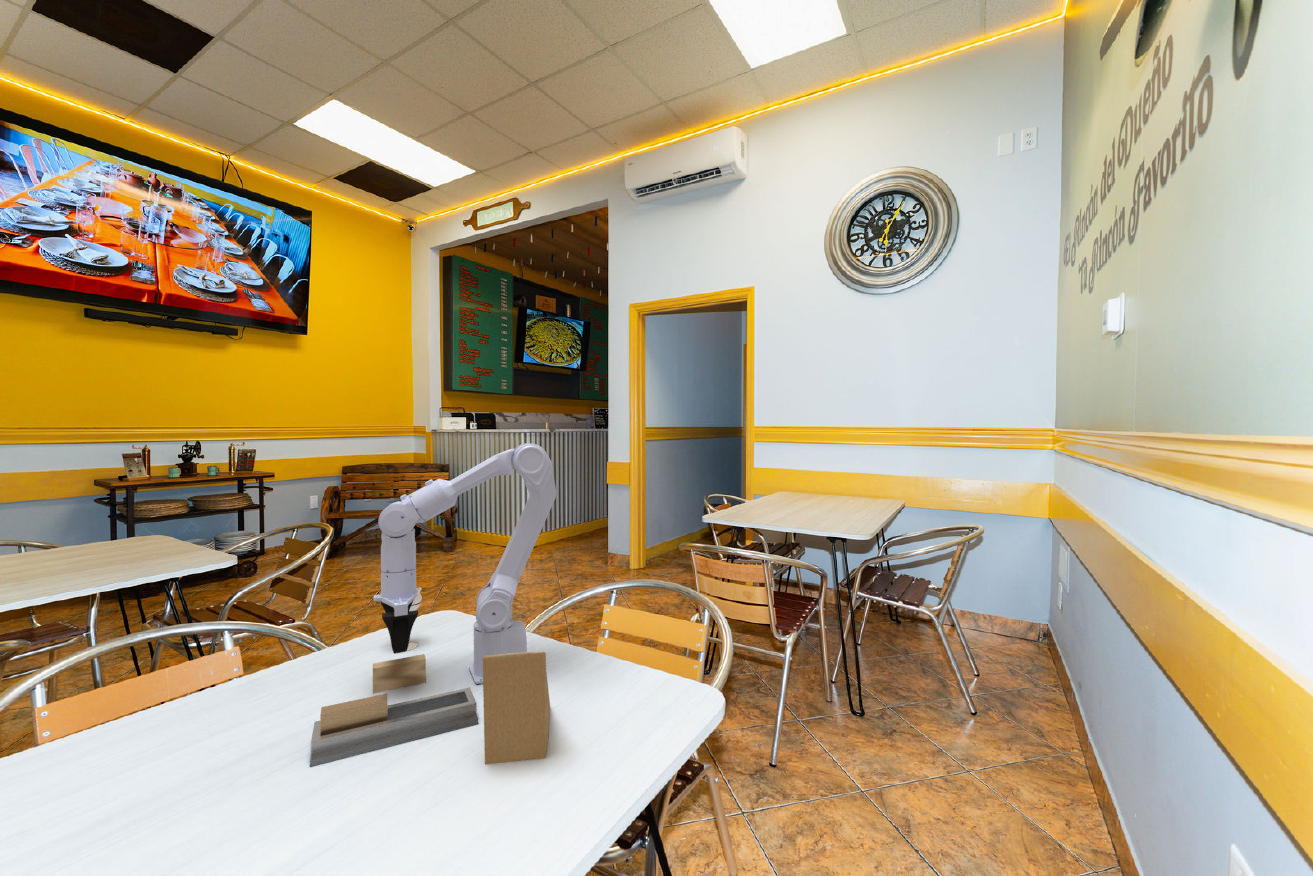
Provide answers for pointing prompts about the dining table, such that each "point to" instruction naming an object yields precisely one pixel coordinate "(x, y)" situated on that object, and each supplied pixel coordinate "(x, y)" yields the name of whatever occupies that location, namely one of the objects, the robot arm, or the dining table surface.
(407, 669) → the tan rectangular block
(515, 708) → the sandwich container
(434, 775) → the dining table surface
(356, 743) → the track
